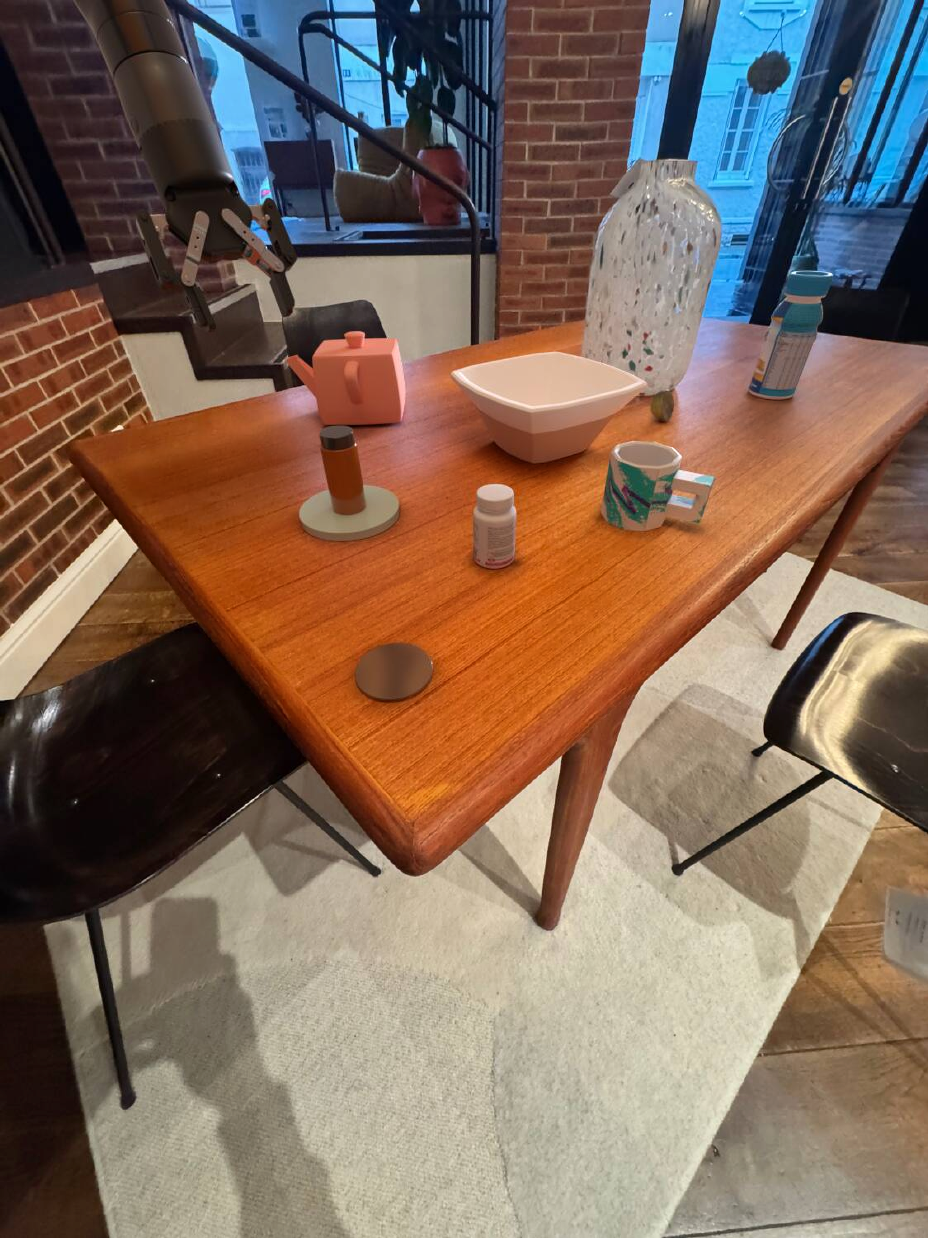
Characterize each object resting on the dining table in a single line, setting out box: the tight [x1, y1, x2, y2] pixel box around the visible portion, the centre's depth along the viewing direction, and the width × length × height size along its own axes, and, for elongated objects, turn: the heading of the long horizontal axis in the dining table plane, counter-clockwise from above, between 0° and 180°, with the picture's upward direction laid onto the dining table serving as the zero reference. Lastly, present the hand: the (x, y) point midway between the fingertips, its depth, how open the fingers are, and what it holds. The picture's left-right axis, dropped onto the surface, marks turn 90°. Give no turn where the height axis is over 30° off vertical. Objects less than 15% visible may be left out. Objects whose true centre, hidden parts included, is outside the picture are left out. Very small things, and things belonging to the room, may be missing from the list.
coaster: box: [354, 642, 434, 703], centre depth 47 cm, size 7×7×1 cm
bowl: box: [450, 351, 648, 465], centre depth 82 cm, size 24×25×11 cm
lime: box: [649, 389, 675, 422], centre depth 92 cm, size 4×5×5 cm
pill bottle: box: [472, 483, 517, 570], centre depth 58 cm, size 5×5×8 cm
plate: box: [298, 484, 401, 542], centre depth 69 cm, size 13×13×1 cm
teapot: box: [285, 330, 406, 426], centre depth 93 cm, size 20×22×14 cm
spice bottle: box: [318, 425, 366, 515], centre depth 65 cm, size 4×4×10 cm
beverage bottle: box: [748, 270, 834, 401], centre depth 96 cm, size 8×8×20 cm
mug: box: [600, 440, 716, 532], centre depth 64 cm, size 8×12×8 cm
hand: (251, 322), depth 56 cm, fingers open, 8 cm apart
